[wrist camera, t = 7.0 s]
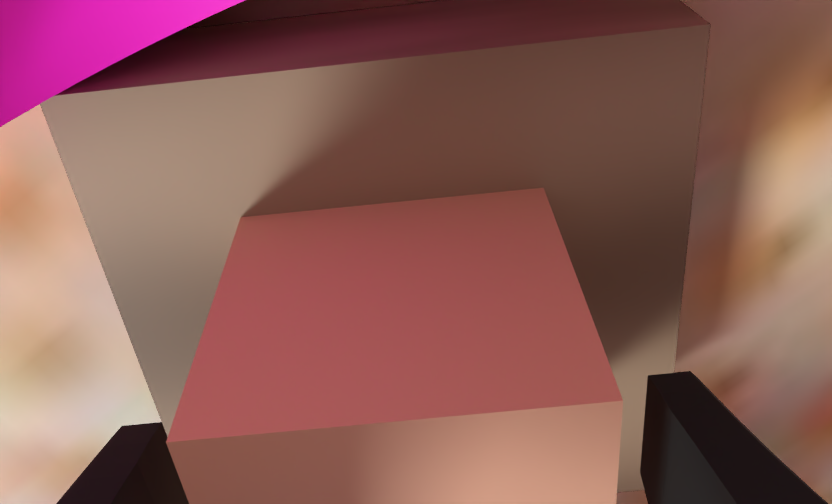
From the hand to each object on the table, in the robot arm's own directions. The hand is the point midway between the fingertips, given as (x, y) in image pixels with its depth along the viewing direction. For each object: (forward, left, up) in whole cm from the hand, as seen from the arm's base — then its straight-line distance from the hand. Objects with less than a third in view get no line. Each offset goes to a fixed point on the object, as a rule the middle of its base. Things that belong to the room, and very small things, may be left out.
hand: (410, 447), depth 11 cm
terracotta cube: (0, 0, -3) cm, 3 cm away
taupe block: (0, 0, -6) cm, 6 cm away
